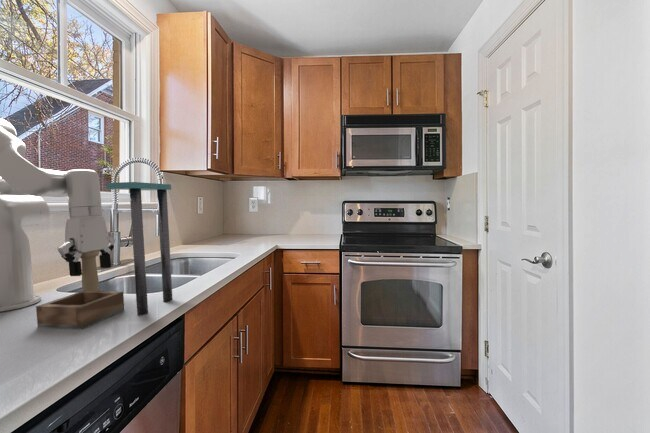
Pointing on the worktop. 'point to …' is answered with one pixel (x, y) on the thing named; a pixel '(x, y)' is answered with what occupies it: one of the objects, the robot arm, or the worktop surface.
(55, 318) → the socket
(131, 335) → the worktop surface
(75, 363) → the worktop surface
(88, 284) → the handle
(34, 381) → the worktop surface
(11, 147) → the robot arm
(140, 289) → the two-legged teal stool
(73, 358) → the worktop surface
